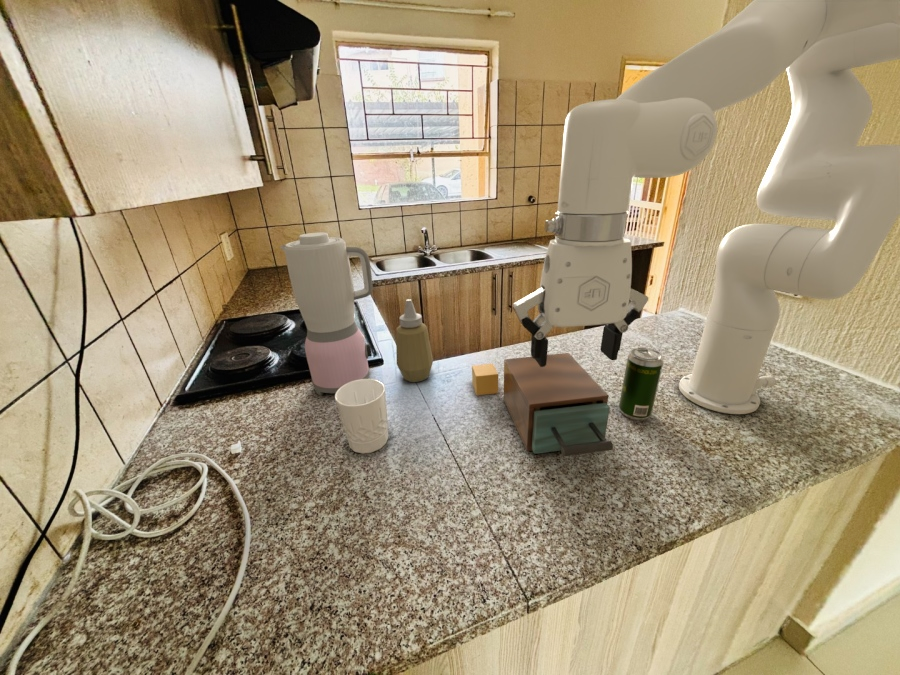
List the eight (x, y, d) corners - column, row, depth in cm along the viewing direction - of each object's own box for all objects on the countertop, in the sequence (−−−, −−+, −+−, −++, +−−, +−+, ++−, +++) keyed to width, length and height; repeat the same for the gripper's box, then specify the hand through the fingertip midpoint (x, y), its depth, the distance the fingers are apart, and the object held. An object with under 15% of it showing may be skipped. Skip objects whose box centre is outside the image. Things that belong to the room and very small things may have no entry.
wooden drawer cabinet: (601, 441, 59) (608, 395, 55) (526, 451, 58) (529, 404, 54) (564, 392, 72) (568, 352, 68) (503, 399, 71) (504, 359, 67)
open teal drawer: (623, 471, 52) (631, 430, 49) (547, 481, 51) (550, 441, 48) (568, 397, 69) (571, 364, 66) (510, 403, 68) (511, 370, 65)
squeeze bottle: (429, 386, 77) (422, 307, 69) (393, 384, 78) (382, 306, 71) (437, 368, 84) (432, 294, 76) (404, 365, 85) (396, 293, 78)
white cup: (399, 429, 64) (393, 382, 60) (377, 460, 57) (368, 409, 53) (361, 422, 67) (352, 375, 62) (336, 451, 60) (324, 401, 56)
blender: (310, 402, 73) (270, 243, 60) (315, 373, 84) (282, 232, 71) (388, 389, 76) (366, 235, 63) (383, 363, 87) (364, 226, 74)
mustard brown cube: (492, 381, 77) (493, 363, 75) (498, 393, 73) (498, 374, 71) (472, 383, 77) (471, 365, 75) (476, 395, 73) (475, 376, 71)
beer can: (657, 420, 63) (671, 360, 58) (626, 422, 63) (638, 362, 58) (641, 402, 68) (653, 345, 63) (613, 404, 68) (623, 347, 63)
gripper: (526, 237, 37) (519, 379, 45) (682, 228, 39) (651, 366, 46) (508, 228, 44) (504, 351, 51) (641, 220, 46) (619, 342, 53)
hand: (574, 358), depth 49 cm, fingers open, 9 cm apart
